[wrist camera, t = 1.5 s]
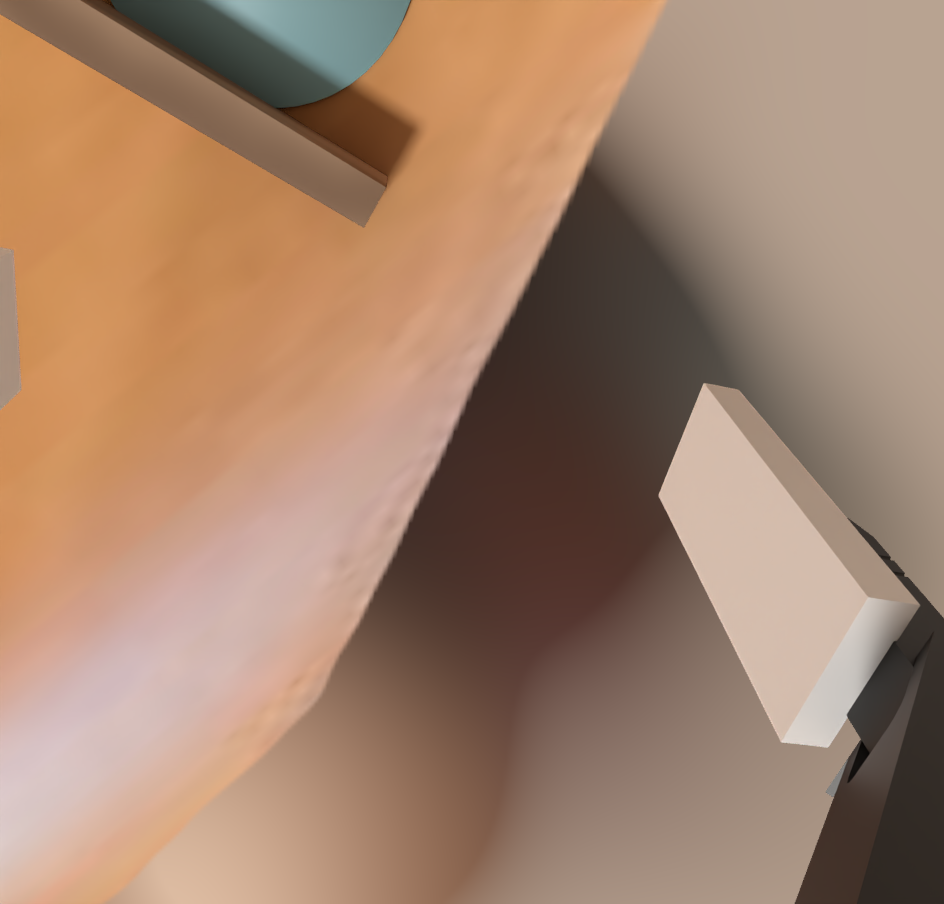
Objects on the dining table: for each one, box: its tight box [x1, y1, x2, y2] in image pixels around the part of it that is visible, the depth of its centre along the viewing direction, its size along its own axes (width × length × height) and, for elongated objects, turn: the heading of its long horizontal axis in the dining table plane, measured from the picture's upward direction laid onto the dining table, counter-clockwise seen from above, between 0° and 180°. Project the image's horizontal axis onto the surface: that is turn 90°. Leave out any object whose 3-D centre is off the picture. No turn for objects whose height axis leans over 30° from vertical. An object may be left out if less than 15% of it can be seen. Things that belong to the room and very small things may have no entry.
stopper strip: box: [0, 0, 388, 228], centre depth 32 cm, size 2×18×2 cm, turn 58°
